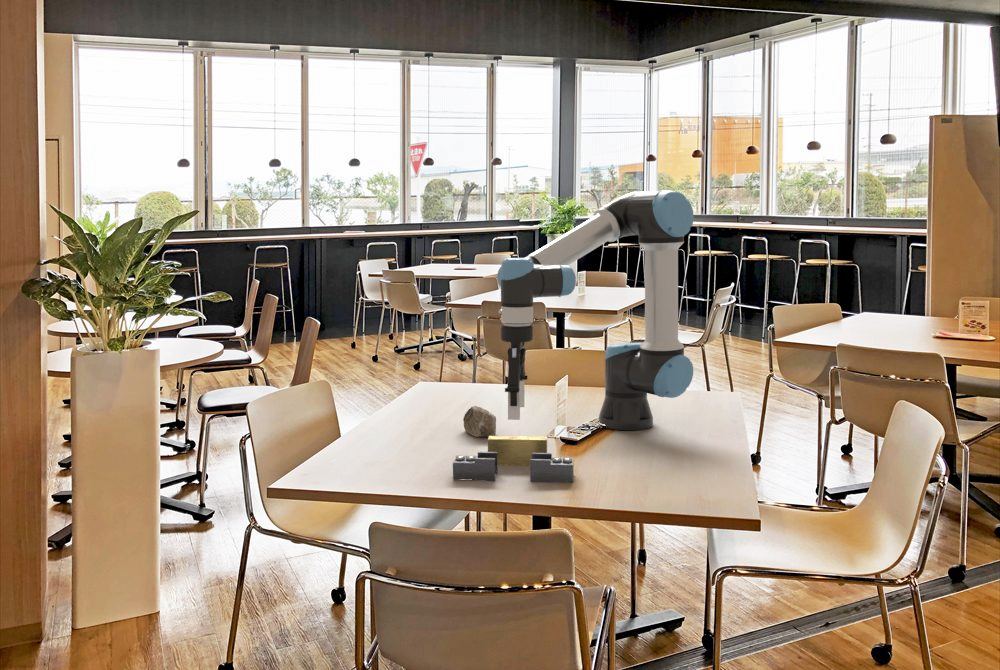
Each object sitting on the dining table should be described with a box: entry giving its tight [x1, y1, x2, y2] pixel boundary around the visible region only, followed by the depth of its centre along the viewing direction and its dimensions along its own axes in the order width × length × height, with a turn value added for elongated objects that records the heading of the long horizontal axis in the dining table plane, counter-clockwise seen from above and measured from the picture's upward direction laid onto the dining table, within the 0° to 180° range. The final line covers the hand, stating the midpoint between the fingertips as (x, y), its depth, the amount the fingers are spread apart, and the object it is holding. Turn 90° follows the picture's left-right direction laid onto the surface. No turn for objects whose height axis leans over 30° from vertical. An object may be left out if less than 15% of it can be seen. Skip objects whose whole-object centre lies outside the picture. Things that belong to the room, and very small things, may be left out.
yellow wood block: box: [487, 435, 548, 467], centre depth 213 cm, size 14×3×6 cm, turn 84°
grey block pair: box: [452, 451, 575, 484], centre depth 203 cm, size 27×6×5 cm, turn 84°
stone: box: [462, 405, 497, 438], centre depth 242 cm, size 7×12×7 cm, turn 33°
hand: (516, 413), depth 212 cm, fingers open, 13 cm apart
